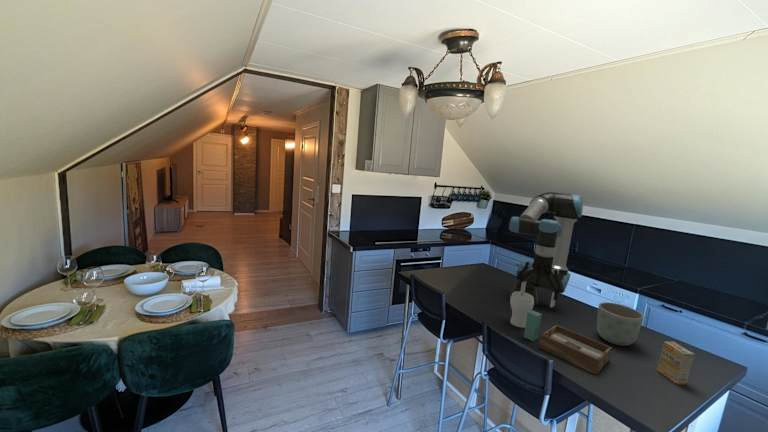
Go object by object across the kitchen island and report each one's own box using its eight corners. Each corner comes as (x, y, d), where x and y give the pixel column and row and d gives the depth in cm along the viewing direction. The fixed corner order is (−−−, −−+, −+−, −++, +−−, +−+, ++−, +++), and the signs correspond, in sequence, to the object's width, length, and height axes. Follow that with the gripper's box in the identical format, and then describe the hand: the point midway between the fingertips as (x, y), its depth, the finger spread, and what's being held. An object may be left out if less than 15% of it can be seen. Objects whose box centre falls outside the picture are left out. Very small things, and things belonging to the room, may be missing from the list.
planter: (628, 336, 158) (635, 306, 155) (643, 354, 142) (650, 322, 139) (588, 328, 163) (594, 299, 160) (598, 345, 147) (605, 313, 144)
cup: (532, 330, 155) (537, 301, 153) (509, 327, 157) (513, 297, 155) (527, 320, 166) (531, 292, 163) (505, 317, 168) (509, 289, 165)
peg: (528, 334, 152) (532, 310, 150) (537, 338, 149) (541, 314, 147) (523, 336, 149) (527, 312, 147) (533, 341, 146) (537, 316, 144)
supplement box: (655, 370, 130) (663, 340, 128) (666, 371, 131) (674, 341, 129) (675, 385, 122) (683, 353, 120) (687, 385, 123) (695, 353, 121)
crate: (554, 336, 151) (556, 324, 150) (609, 360, 135) (611, 347, 134) (538, 347, 141) (540, 334, 140) (596, 374, 125) (598, 360, 124)
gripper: (513, 248, 149) (506, 292, 153) (571, 264, 130) (562, 313, 134) (521, 247, 154) (514, 289, 157) (578, 261, 135) (569, 309, 139)
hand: (536, 300), depth 146 cm, fingers open, 13 cm apart
